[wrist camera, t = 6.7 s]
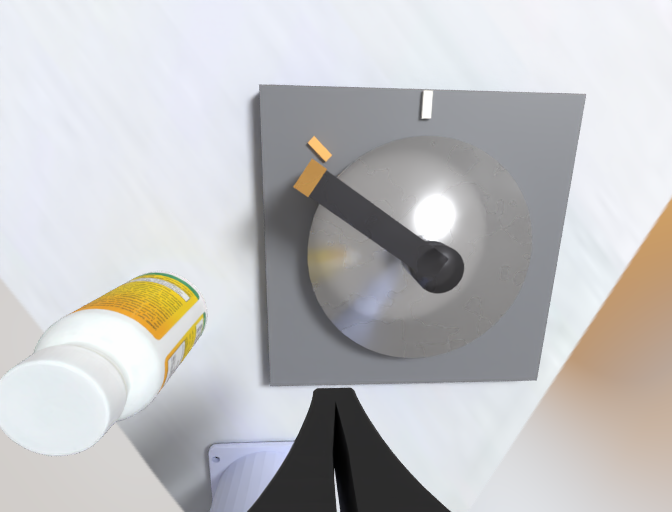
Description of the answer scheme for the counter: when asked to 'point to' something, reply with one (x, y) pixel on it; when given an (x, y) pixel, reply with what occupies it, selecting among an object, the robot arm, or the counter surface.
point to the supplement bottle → (101, 364)
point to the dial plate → (358, 139)
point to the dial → (417, 245)
